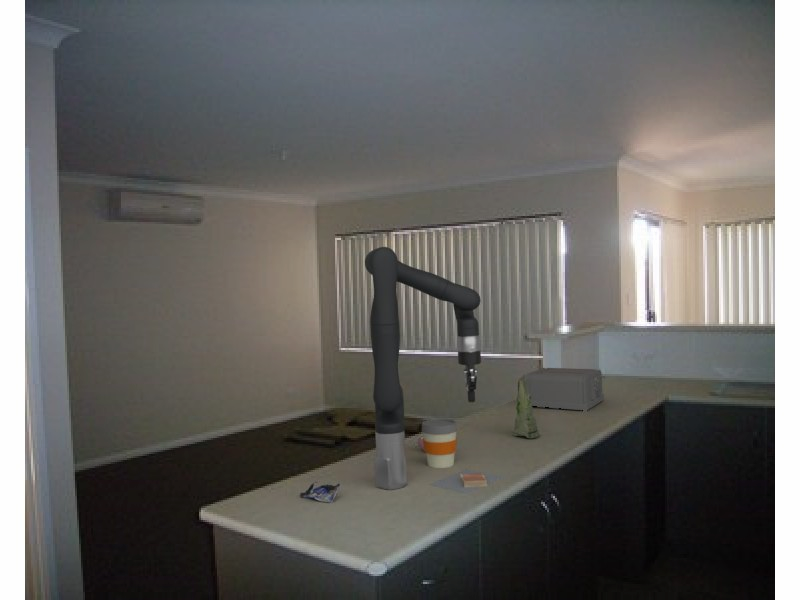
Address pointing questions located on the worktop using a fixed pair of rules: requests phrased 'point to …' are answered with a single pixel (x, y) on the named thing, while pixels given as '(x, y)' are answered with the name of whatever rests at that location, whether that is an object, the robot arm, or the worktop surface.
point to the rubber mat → (456, 483)
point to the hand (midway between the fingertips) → (471, 401)
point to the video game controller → (421, 442)
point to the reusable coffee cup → (439, 442)
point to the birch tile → (473, 480)
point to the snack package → (321, 492)
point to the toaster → (565, 388)
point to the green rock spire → (525, 412)
